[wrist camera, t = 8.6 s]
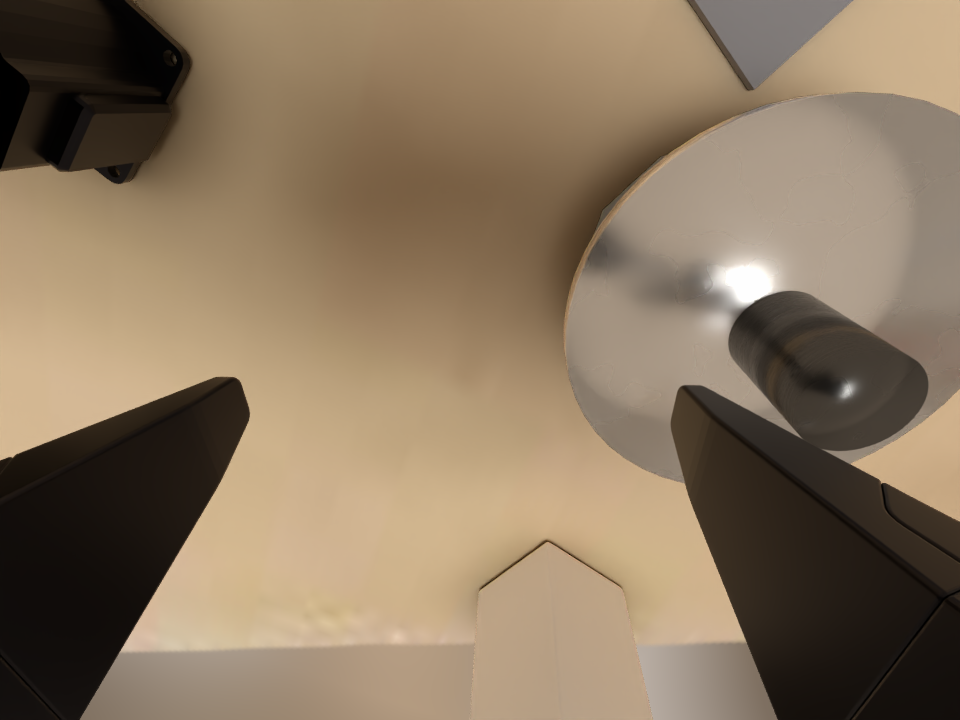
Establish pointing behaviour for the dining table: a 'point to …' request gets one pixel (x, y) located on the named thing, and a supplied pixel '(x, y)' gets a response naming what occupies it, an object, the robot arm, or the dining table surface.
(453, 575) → the dining table surface
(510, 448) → the dining table surface
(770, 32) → the mat
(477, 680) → the milk carton
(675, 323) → the lid
